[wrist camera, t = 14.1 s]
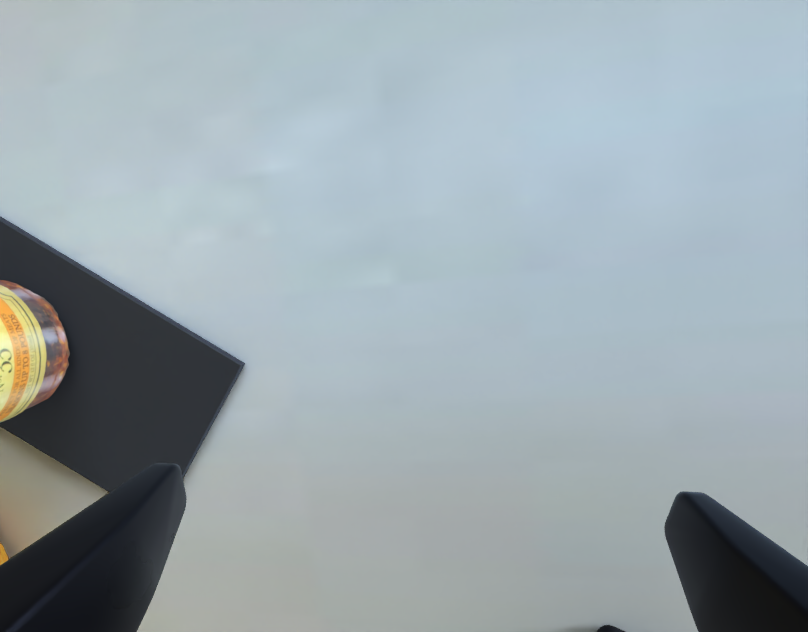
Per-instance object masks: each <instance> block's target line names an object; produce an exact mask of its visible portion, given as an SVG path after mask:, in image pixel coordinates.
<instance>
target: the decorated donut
mask: <svg viewBox="0 0 808 632" xmlns="http://www.w3.org/2000/svg"><path fill="white" fill-rule="evenodd" d="M7 560H9V559H8V556H7V554H6V552H5V550H4V547H3V545H1V543H0V565H1V564H3V563H4V562H6V561H7Z"/></svg>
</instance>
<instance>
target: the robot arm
mask: <svg viewBox="0 0 808 632" xmlns="http://www.w3.org/2000/svg"><path fill="white" fill-rule="evenodd" d="M185 507H186V493H185V488H184V483H183V477H182V472H181V469H180V467H179V465H177V464H174V463H154V464H152V465H150V466H149V467H147V468H146V469H144V470H143V471H141V472H140V473H138V474H137V475H135V476H134V477H132V478H131V479H129V480H128V481H126V482H125V483H123V484H122V485H120V486H119V487H117V488H116V489H114V490H113V491H111V492H110V493H108V494H107V495H105V496H104V497H102V498H101V499H99V500H98V501H96V502H94V503H93V504H91V505H90V506H88V507H87V508H85V509H84V510H82V511H81V512H79V513H78V514H76V515H75V516H73V517H72V518H70V519H69V520H67V521H66V522H64V523H63V524H61V525H60V526H58V527H57V528H55V529H54V530H52V531H51V532H49V533H48V534H46V535H45V536H43V537H42V538H40V539H39V540H37V541H36V542H34V543H33V544H31V545H30V546H28V547H27V548H25V549H24V550H22V551H21V552H19V553H18V554H16V555H15V556H13V557H12V558H10V559H9V560H7V561H6V562H4V563H3V564H1V565H0V632H137V630H138V628H139V625H140V623H141V621H142V619H143V617H144V615H145V613H146V611H147V609H148V606H149V604H150V602H151V600H152V598H153V595H154V593H155V590H156V588H157V585H158V582H159V580H160V577H161V574H162V571H163V569H164V566H165V563H166V560H167V558H168V555H169V552H170V549H171V547H172V544H173V541H174V538H175V536H176V533H177V530H178V527H179V525H180V522H181V519H182V516H183V514H184V511H185ZM665 536H666V540H667V543H668V545H669V548H670V551H671V554H672V557H673V560H674V563H675V566H676V569H677V572H678V575H679V578H680V581H681V584H682V587H683V590H684V593H685V596H686V599H687V602H688V604H689V607H690V610H691V613H692V616H693V618H694V621H695V624H696V626H697V629H698V631H699V632H808V566H807V565H805V564H804V563H802V562H801V561H800V560H798V559H797V558H795V557H794V556H793V555H791V554H790V553H788V552H787V551H786V550H784V549H783V548H781V547H780V546H779V545H777V544H776V543H774V542H773V541H771V540H770V539H769V538H767V537H766V536H764V535H763V534H762V533H760V532H759V531H757V530H756V529H755V528H753V527H752V526H750V525H749V524H748V523H746V522H745V521H743V520H742V519H740V518H739V517H738V516H736V515H735V514H733V513H732V512H731V511H729V510H728V509H726V508H725V507H724V506H722V505H721V504H719V503H718V502H717V501H715V500H714V499H712V498H711V497H709V496H708V495H706V494H704V493H700V492H680V493H679V494H677V496H676V497H675V500H674V502H673V505H672V507H671V510H670V512H669V515H668V517H667V520H666V522H665ZM597 632H624V631H622V630H620V629H618V628H616V627H614V626H610V625H605V626H602V627H600V629H599V630H598V631H597Z"/></svg>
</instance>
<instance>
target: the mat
mask: <svg viewBox="0 0 808 632" xmlns="http://www.w3.org/2000/svg"><path fill="white" fill-rule="evenodd" d="M0 280H5V281H9V282H13V283H17V284H18V285H20V286H22V287H24V288H26V289H28V290H30V291H31V292H33V293H35V294H37V295H39V296H41V297H43V298H45V300H46V301H48V302H49V303H50V304H51V305H52V306H53V308H54V309H55V311H56V312H57V313H58V319H59V321H61V323H62V326H63V328H64V330H65V334H66V337H67V340H68V348H69V351H70V355H69V357H68V362H69V366H68V368H67V369H66V373H65V375H64V377H63V379H62V382H61V383H60V384H59V386H58V388H57V389H56V390H55V392H54V393H53V394H52V395H51V396H50V397H49V398H48V399H46V400H44V401H42V402H40V403H39V404H36V405H34V406H32V407H30V408H28V409H25V410H24V411H23V412H21V413H19V414H18V415H16V416H14V417H12V418H10V419H8V420H5V421H3V422H0V426H1V427H2V428H4V429H6V430H7V431H9V432H11V433H12V434H14V435H16V436H17V437H19V438H20V439H22V440H24V441H25V442H27V443H29V444H30V445H32V446H34V447H35V448H37V449H39V450H40V451H42V452H44V453H45V454H47V455H49V456H50V457H52V458H54V459H55V460H57V461H59V462H60V463H62V464H64V465H65V466H67V467H69V468H70V469H72V470H74V471H75V472H77V473H79V474H80V475H82V476H84V477H85V478H87V479H89V480H90V481H92V482H93V483H95V484H97V485H98V486H100V487H102V488H103V489H105V490H107V491H108V492H111V491H113V490H114V489H116V488H117V487H119V486H120V485H122V484H123V483H125V482H126V481H128V480H129V479H131V478H132V477H134V476H135V475H137V474H138V473H140V472H141V471H143V470H144V469H146V468H147V467H149V466H150V465H152V464H154V463H174V464H177V465H179V467H180V469H181V472H182V477H184V475H185V474H186V472H187V470H188V468H189V466H190V464H191V463H192V461H193V459H194V457H195V455H196V453H197V451H198V450H199V448H200V446H201V444H202V442H203V440H204V438H205V437H206V435H207V433H208V431H209V429H210V427H211V425H212V424H213V422H214V420H215V418H216V416H217V414H218V413H219V411H220V409H221V407H222V405H223V403H224V401H225V400H226V398H227V396H228V394H229V392H230V390H231V388H232V387H233V385H234V383H235V381H236V379H237V377H238V375H239V374H240V372H241V370H242V368H243V366H244V364H245V363H243V362H241V361H240V360H238V359H237V358H235V357H233V356H232V355H230V354H228V353H227V352H225V351H223V350H222V349H220V348H218V347H217V346H215V345H213V344H212V343H210V342H208V341H207V340H205V339H203V338H202V337H200V336H198V335H197V334H195V333H193V332H192V331H190V330H188V329H187V328H185V327H183V326H182V325H180V324H178V323H177V322H175V321H173V320H172V319H170V318H168V317H167V316H165V315H163V314H162V313H160V312H158V311H157V310H155V309H153V308H152V307H150V306H148V305H147V304H145V303H143V302H142V301H140V300H138V299H137V298H135V297H133V296H132V295H130V294H128V293H127V292H125V291H123V290H122V289H120V288H118V287H117V286H115V285H113V284H112V283H110V282H108V281H107V280H105V279H103V278H102V277H100V276H98V275H97V274H95V273H93V272H92V271H90V270H88V269H87V268H85V267H83V266H82V265H80V264H78V263H77V262H75V261H74V260H72V259H70V258H69V257H67V256H65V255H64V254H62V253H60V252H59V251H57V250H55V249H54V248H52V247H50V246H49V245H47V244H45V243H44V242H42V241H40V240H39V239H37V238H35V237H34V236H32V235H30V234H29V233H27V232H25V231H24V230H22V229H20V228H19V227H17V226H15V225H14V224H12V223H10V222H9V221H7V220H5V219H4V218H2V217H0Z"/></svg>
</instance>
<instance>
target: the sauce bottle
mask: <svg viewBox="0 0 808 632" xmlns="http://www.w3.org/2000/svg"><path fill="white" fill-rule="evenodd" d="M69 355H70V351H69V348H68V340H67V337H66V334H65V330H64V328H63V326H62V323H61V321H59V319H58V313H57V312H56V311H55V309H54V308H53V306H52V305H51V304H50V303H49V302H48V301H46V300H45V298H43V297H41V296H39V295H37V294H35V293H33V292H31V291H30V290H28V289H26V288H24V287H22V286H20V285H18V284H17V283H13V282H9V281H5V280H0V422H3V421H5V420H8V419H10V418H12V417H14V416H16V415H18V414H19V413H21V412H23V411H24V410H25V409H28V408H30V407H32V406H34V405H36V404H39V403H40V402H42V401H44V400H46V399H48V398H49V397H50V396H51V395H52V394H53V393H54V392H55V390H56V389H57V388H58V386H59V384H60V383H61V382H62V379H63V377H64V375H65V373H66V369H67V368H68V366H69V362H68V357H69Z"/></svg>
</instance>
